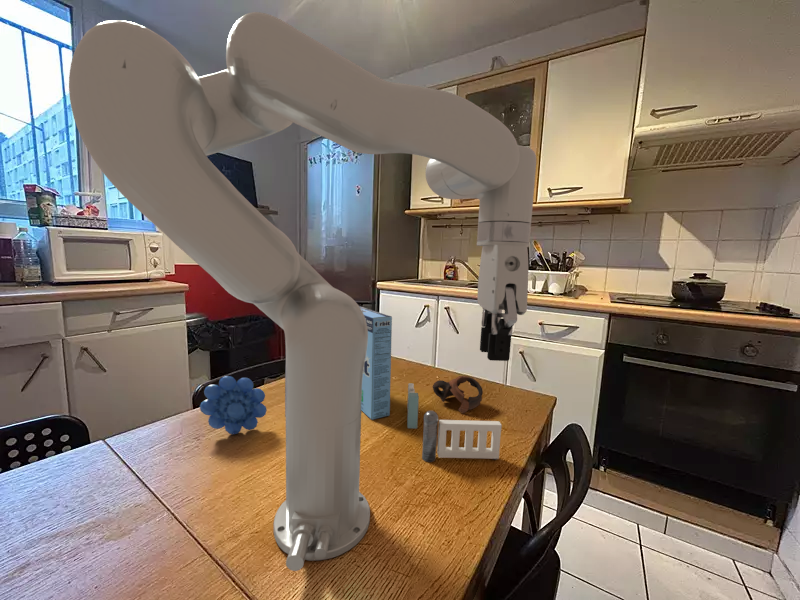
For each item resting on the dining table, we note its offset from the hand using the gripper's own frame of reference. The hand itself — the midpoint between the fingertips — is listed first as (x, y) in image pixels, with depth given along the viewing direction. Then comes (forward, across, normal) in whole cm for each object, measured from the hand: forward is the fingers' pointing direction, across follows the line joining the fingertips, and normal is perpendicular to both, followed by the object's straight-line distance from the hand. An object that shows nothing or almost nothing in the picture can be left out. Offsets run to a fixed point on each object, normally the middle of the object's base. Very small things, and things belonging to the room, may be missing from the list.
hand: (493, 354), depth 53 cm
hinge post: (+21, +6, +8) cm, 24 cm away
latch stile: (+21, +17, +11) cm, 29 cm away
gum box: (+22, +29, +22) cm, 42 cm away
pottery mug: (+22, +28, -1) cm, 36 cm away
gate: (+21, +6, +1) cm, 22 cm away
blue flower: (+21, +12, +46) cm, 52 cm away
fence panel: (+21, +22, +11) cm, 33 cm away
